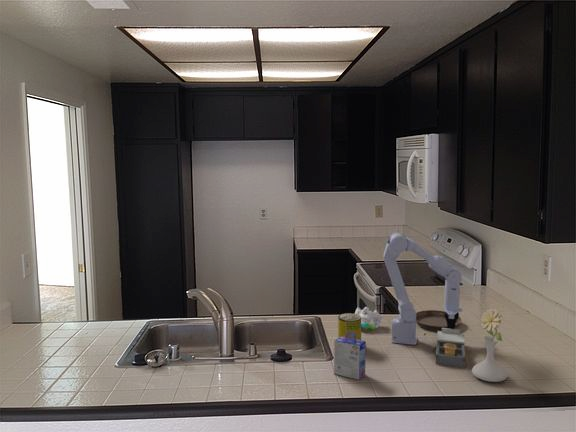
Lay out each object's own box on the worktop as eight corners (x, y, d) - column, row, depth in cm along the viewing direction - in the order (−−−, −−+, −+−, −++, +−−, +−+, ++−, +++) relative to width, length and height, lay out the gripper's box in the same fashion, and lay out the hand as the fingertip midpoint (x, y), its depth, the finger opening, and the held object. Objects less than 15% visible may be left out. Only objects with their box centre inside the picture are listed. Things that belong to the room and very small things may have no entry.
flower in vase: (467, 370, 180) (469, 301, 177) (499, 370, 180) (503, 301, 177) (479, 387, 167) (482, 313, 164) (515, 387, 167) (518, 313, 164)
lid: (437, 341, 198) (437, 335, 197) (437, 332, 207) (437, 327, 206) (464, 343, 195) (464, 338, 194) (464, 335, 204) (464, 329, 203)
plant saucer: (460, 335, 215) (460, 327, 214) (410, 329, 222) (410, 322, 221) (461, 319, 234) (462, 312, 233) (415, 315, 241) (415, 308, 240)
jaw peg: (443, 362, 187) (443, 347, 186) (443, 358, 191) (443, 342, 190) (456, 364, 186) (456, 348, 185) (455, 359, 190) (456, 343, 189)
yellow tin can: (365, 345, 204) (365, 316, 202) (352, 352, 197) (352, 322, 196) (347, 340, 210) (347, 311, 208) (333, 346, 203) (333, 317, 202)
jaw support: (346, 323, 221) (352, 303, 226) (351, 332, 227) (356, 313, 232) (373, 327, 216) (379, 307, 221) (377, 337, 222) (382, 318, 227)
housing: (435, 364, 186) (435, 354, 185) (437, 345, 203) (437, 337, 202) (464, 367, 183) (465, 358, 182) (463, 348, 200) (464, 339, 199)
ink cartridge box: (366, 374, 178) (366, 334, 176) (359, 380, 173) (360, 339, 172) (340, 368, 183) (340, 329, 181) (333, 374, 179) (333, 334, 177)
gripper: (462, 303, 196) (461, 338, 198) (462, 293, 210) (461, 325, 212) (443, 302, 198) (442, 336, 200) (444, 292, 212) (443, 323, 214)
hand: (450, 330), depth 206 cm, fingers closed
